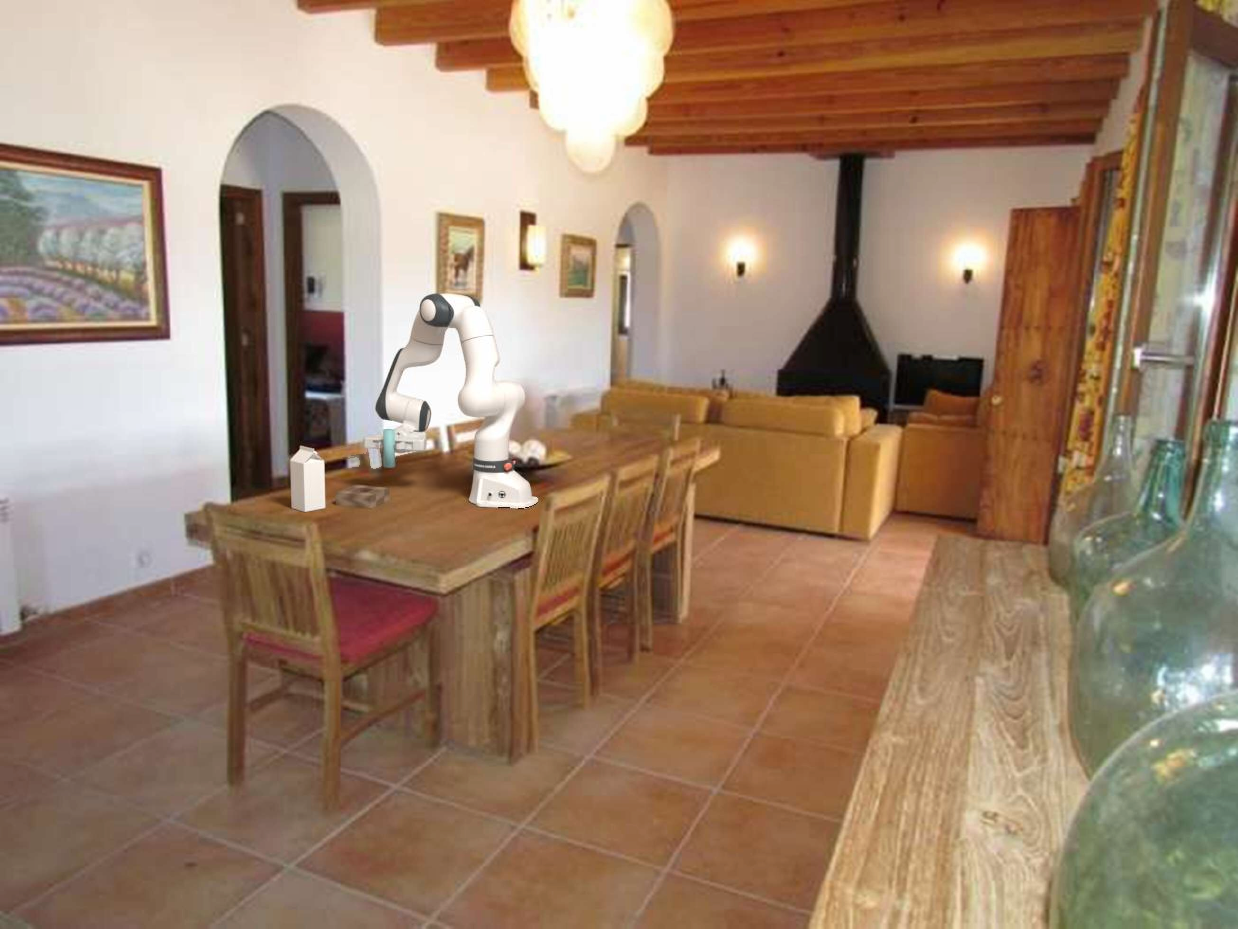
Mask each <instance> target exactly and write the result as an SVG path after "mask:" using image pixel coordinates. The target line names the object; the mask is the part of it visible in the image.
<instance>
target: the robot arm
mask: <svg viewBox="0 0 1238 929" xmlns="http://www.w3.org/2000/svg"><path fill="white" fill-rule="evenodd" d="M490 321H491V320H490V319H489V316H488V314H487V313H486V311H485V309H484V308H483V307H482V306H481V303H480V302H479V300H478V299H477V298H475V297H473V296H472V295H466V294H458V293H457V294H456V293H450V292H445V293H437V292H436V293H431V294H427V295H426V296H424V297H423V298H422V299H421V300H420V304H419V309H418V310H417V312H416V315H415V318H414V320H413V324H412V326H411V330H410V335H409V336H410V337H409V340H408V342H407V344H406V345H405V347H401V348H399V350H398V351H397V352H396V353H395V356H394V358H393V360H392V363H391V365H390V368H389V371H388V373H387V375H386V378H385V381H384V384H383V386H382V389H381V392H380V394H379V396H378V398H377V400H376V403H375V406H374V408H375V412H376V414H377V416H378V417H379V418H380V419H381V420H383V421H389V422H390V421H391V422H396V423H399V424H401V425H398V426H396V427H395V428H393V429H394V430H395V444H394V450H395V454H398V455H399V454H401V455H402V454H405V453H410V452H425V451H426V450H427V443H428V442H427V440H428V439H427V432H426V431H427V430H428V428H429V426H430V424H431V418H432V410H431V407H430V405H429V403H428V402H427V401H426V400H424V399H420V398H417V397H412V396H408V395H405V394H402V393H399V392H398V391H397V389H398V387H399V384H400V381H401V379H402V375H403V373H404V372H405V370H406V369H409V368H416V367H425V366H428V365H431V364H433V363H435V362H437V360H438V359H439V358H440V357H441V354H442V351H443V347H444V341H445V335H446V332H447V330H449V329H455V330H456V331H457V334H458V337H459V342H460V346H461V350H462V355H463V360H464V363H465V378H464V383H463V386H462V388H461V389H460V391H459V392H458V396H457V406H458V408H459V409H460V412H461V413H462V414H464V415H465V416H467V417H472V418H478V419H479V418H481V419H482V418H484V419H483V422H482V424H481V425H480V427H479V428H478V429H477V430H476V432H475V433H474V439H473V440H474V441H473V442H474V443H473V447H474V449H473V451H474V455H473V456H474V457H473V458H472V474H473V476H472V477H473V478H472V484H471V491H470V495H469V498H468V501H469V502H470V503H472V504H474V505H475V506H477V507H483V508H498V507H510V508H509V509H518V508H524V509H526V508H525V507H529V506H532V505H534V504H536V503H537V502H538V503H539V498H538V497H537V496H533V494H532V488H531V485H530V482H529V481H528V480H526V479H525V478H524V477H523V476H521V475H520V474H519V473H518V472H517V471H515V464H516V460H512V459H511V458H510V457H509V455H510V454H509V448H510V435H511V431H512V430H511V429H512V426H513V423H514V421H515V418H516V416H517V414H518V412H519V411H520V410H521V409H522V408H523V407H524V404H525V401H526V392H525V390H524V388H523V387H522V385H521V384H520V383H517V382H515V381H510V380H498V381H497V380H496V381H495V368H496V367H497V366H498V364H499V363H500V360H501V359H500V358H501V357H500V352H499V349H498V345H497V340H496V338H495V333H494V329H493V327H492V324H491V322H490ZM362 440H363V442H362V444H363V448H365V449H370V450H371V449H375V450H383V434H371V435H367V436H365V437H363V439H362ZM538 503H537V504H538ZM537 504H536V505H537ZM534 506H535V505H534ZM532 507H533V506H532ZM529 508H530V507H529Z"/></svg>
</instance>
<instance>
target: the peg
mask: <svg viewBox="0 0 1238 929" xmlns="http://www.w3.org/2000/svg"><path fill="white" fill-rule="evenodd" d="M394 429H395V428H386V429H382V433H383V434H382V435H383V449H382V450H383V451H382V452H383V454H382V455H383V467H384V468H387V469H388V468H395V467H396V453H395V450H394V444H395V430H394Z"/></svg>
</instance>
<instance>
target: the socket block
mask: <svg viewBox="0 0 1238 929" xmlns="http://www.w3.org/2000/svg"><path fill="white" fill-rule="evenodd" d="M389 501H390V487H384V486H383V487H382V486H372V485H362V484H354V485H351V486H348V487H346V488H344V489H340V490H339V491H335V506H342V507H350V508H351V507H353V508H360V507H361V509H362V508H363V509H370V508H371V509H373V508H376V507H378V506H379V504H380V505H382V504H383V503H387V502H389ZM381 503H382V504H381ZM377 505H378V506H377Z"/></svg>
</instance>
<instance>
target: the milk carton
mask: <svg viewBox="0 0 1238 929" xmlns="http://www.w3.org/2000/svg"><path fill="white" fill-rule="evenodd" d="M289 464H290V466H289V467H290V468H289V469H290V493H291V494H290V497H291V509H294V510H297V511H300V512H304V513H307V512H312V511H318V510H323V509H326V481H325V480H326V479H325V477H326V476H325V460H324V459H323V458H322V457H321V456H320V455H318V452H317V451H315V448H312V447H307V446H304V445H300V446H299V450H298V451H297V452H296V453H295V454H294V455H293V457H292V456H291V459H290V460H289Z"/></svg>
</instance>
